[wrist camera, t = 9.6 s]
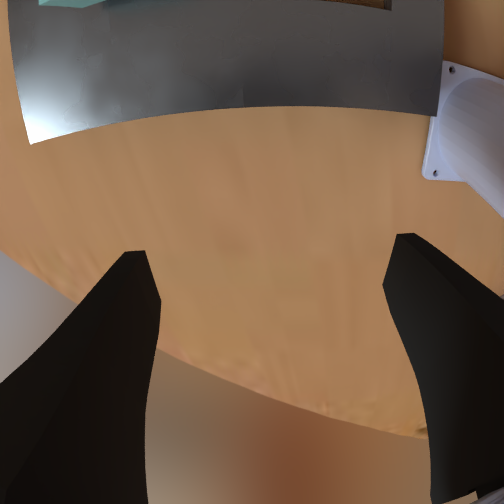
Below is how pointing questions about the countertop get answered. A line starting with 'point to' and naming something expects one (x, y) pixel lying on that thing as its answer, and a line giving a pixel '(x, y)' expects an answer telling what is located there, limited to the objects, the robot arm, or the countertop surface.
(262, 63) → the keyhole bracket
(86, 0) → the peg
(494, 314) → the robot arm
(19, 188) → the countertop surface
